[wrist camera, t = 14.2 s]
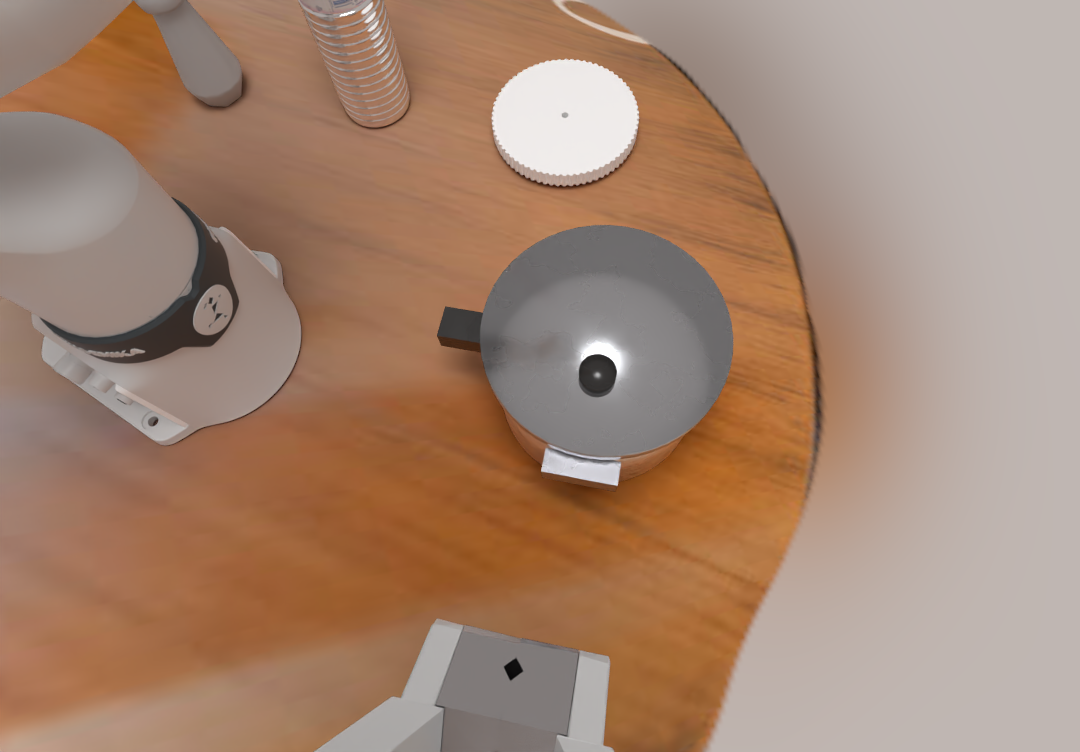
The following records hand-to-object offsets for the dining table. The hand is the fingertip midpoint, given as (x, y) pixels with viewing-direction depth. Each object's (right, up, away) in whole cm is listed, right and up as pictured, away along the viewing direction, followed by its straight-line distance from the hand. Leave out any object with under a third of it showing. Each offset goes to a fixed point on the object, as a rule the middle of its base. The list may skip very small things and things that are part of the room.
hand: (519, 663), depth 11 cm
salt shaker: (-32, +34, +56) cm, 74 cm away
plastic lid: (+3, +29, +54) cm, 61 cm away
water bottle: (-16, +32, +55) cm, 66 cm away
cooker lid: (+5, +7, +34) cm, 35 cm away
